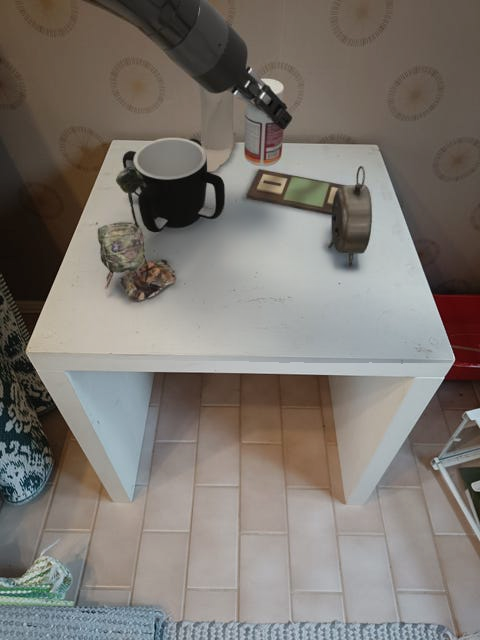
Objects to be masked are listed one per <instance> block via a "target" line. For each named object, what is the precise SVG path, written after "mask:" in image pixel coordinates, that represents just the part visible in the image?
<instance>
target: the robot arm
mask: <svg viewBox="0 0 480 640" xmlns="http://www.w3.org/2000/svg"><path fill="white" fill-rule="evenodd" d="M81 1H82V2H84V3H86V4H89V5H92V6H94V7H97V8H98V9H101V10H102V11H103V10H104V11H105V12H107V13H109V14H111V15H114V16H115V17H118V18H119V19H121V20H123V21H125V22H126V23H128V24H130V25H132V26H133V27H135V28H137V29H138V30H139V31H140V32H141V33H142V34H143V35H145V36H146V37H147V38H148V39H149V40H150V41H152V42H153V43H154V44H155V45H156V46H157V47H159V48H160V49H161V50H162V52H164V53H165V54H166V56H167V57H168V58H169V59H170V60H171V61H172V62H173V63H174V64H175V65H176V66H177V67H179V68H180V69H181V70H182V71H183V72H184V73H186V74H187V75H188V77H190V78H191V79H192V80H194V81H195V82H196V83H197V84H198V85H199V84H200V85H201V86H202V87H203V88H204V89H206V90H207V91H208V92H210V93H214V94H218V93H222V92H224V91H226V90H227V91H229V92H231V93H232V94H233V95H234V98H237V99H238V100H240V101H243V102H244V103H245V104H248V105H249V106H250V107H251V108H252V109H254V110H255V111H262V112H263V113H264V114H265V115H266V117H267V118H268V119H269V118H270V119H271V120H272V121H273V122H275V123H276V124H277V125H278V126H279V127H280V128H281V129H283V130H286V129H287V127H288V126H289V124H291V122H292V120H293V116H292V115H291V114H290V113H289V112H288V111H287V109H288V106H287V104H286V103H285V102H283V100H282V101H281V100H280V99H279V98H278V96H277V95H276V94H275V93H274V92H273V91H272V90H271V88H270V86H268V85H266V84H265V83H264V82H263V81H262V80H261V79H262V78H260V77H259V75H258V73H257V71H255V70H254V69H253V68H252V67H251V66H249V65H247V62H248V56H249V55H248V47H247V44H246V42H245V40H244V39H243V38H242V37H241V36H240V35H239V34H238V32H237V31H236V30H235V29H234V28H233V27H232V26H231V24H230V23H229V22H228V21H227V20H226V19H225V18H224V17H223V16H222V15H221V13H220V12H219V11H218V10H217V9H216V8H215V6H213V4H212V3H210V2H209V1H208V0H81ZM258 84H259V85H260V86H261V87H262V88H261V89H260V87H259V85H258ZM254 98H255V99H254ZM253 99H254V100H253ZM250 100H253V102H254V103H252V102H251V101H250Z"/></svg>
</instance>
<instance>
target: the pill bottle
mask: <svg viewBox="0 0 480 640" xmlns="http://www.w3.org/2000/svg"><path fill="white" fill-rule="evenodd" d="M260 79H261V80H262V81H263V82H264V83H265V84H266V85H268V86H270V88H271V90H272V91H273V92H274V93H275V94H276V95H277V96H278V98H279V99H280V100H281V101H282V102H283V101H284V92H285V91H284V89H285V88H284V85H283V83H282V82H281V81H278V80H277V79H274V78H260ZM258 85H259V84H258ZM259 87H260V89H261V88H262V87H261V86H260V85H259ZM254 99H255V98H254ZM254 99H253V100H254ZM253 100H250V101H251V102H252V103H254V102H253ZM284 130H285V129H284ZM284 130H283V129H281V128H280V127H279V126H278V125H277V124H276V123H275V122H273V121H272V120H271V119H270V118H269V119H268V118H267V117H266V115H265V114H264V113H263V112H262V111H255V110H254V109H252V108H251V107H250V106H249V105H248V104H247V103H245V108H244V143H243V145H244V146H243V147H244V149H243V150H244V151H243V152H244V154H243V155H244V158H245V160H246V161H247V162H248V163H250V164H252V165H254V166H258V167H269V166H273V165H275V164H277V163H278V162H279V161H280V160H281V158H282V154H283V153H282V152H283V143H284Z"/></svg>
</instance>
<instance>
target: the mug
mask: <svg viewBox="0 0 480 640" xmlns="http://www.w3.org/2000/svg"><path fill="white" fill-rule="evenodd" d="M122 165H123V169H125V168H126V167H127V166H129V165H130V166H132V167H133V168H134V169H136V171H138V172H139V173H140V174H141V176H142V177H143V182H144V183H145V184H146V185H147V186H146V187H144V186H143V185H140V186H139V187H138V189H137V190H136V191H135V192H134V193H133V194H134V195H136V196H137V197H138V199H137V203H138V209H139V213H140V214H139V215H140V217H141V221H142V224H143V226H144V227H145V229H146V230H147V231H148V232H150V233H153V234H158V233H161V232H162V231H163V230H164V229H165V228H169V229H181V228H186V227H189V226H191V225H194V224H195V223H196V222H198V220H199V219H200V218H203V219H207V220H215V219H217V218H219V217H220V216H221V214H222V213H223V211H224V209H225V205H226V204H225V203H226V188H225V182H224V180H223V178H222V177H221V176H220V175H218V174H215V173H212V172H207V156H206V152H205V151H204V149H203V148H202V145H201V140H199V139H197V138H190V139H187V138H182V137H164V138H158V139H154V140H152V141H150V142H147V143H146V144H143V145H142V146H141V147H139V149H138V150H137V151H135V150H127V152H125V153H124V154H123V156H122ZM208 184H209V185H212V186H213V189H214V198H215V199H214V201H215V202H214V203H215V204H214V209H213V208H209V207H206V206H205V202H206V196H207V195H206V194H207V185H208Z"/></svg>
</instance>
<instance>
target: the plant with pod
mask: <svg viewBox="0 0 480 640" xmlns="http://www.w3.org/2000/svg"><path fill="white" fill-rule="evenodd" d="M115 182H116V184H117V185H118V186H119V188H120V189H121V190H122V192H124V193H125V194H127V197H128V201H129V204H130V209H131V215H132V219H133V222H134V223H133V222H132V221H131V222H128V221H119V222H113V223H110V224H105V225H103V226H100V227H98V228H97V241H98V243H99V245H100V248H99V249H100V250H99V255H100V261H101V263H102V264H103V266H105V268H107V269H108V271H109V272H108V274H107V276H106V281H105V285H104V289H106V290H107V289H108V287H109V286H110V283H111V280H112V278H113V276H114V273H116V274H119V273H124V272H125V273H124V274H122V276H121V277H119V279H120V280H119V284H120V285H121V286H122V287H123V289H124V292H125V294H126V295H127V296H128V299H130V300H132V301H133V302H137V301H138V302H141V301H143V300H146V299H148V298H151V297H154V296H156V295H157V294H158V293H159V292H160V291H161V290H162V289H166V288H167V285H170V284H175V283H176V280H177V279H176V278H177V277H176V275H175V274H174V273H175V271H176V270H173V269H171V266H170V264H168V260H167V259H162V258H161V259H159V260H156V261H154V262H153V261H147V258H146V253H145V252H146V250H145V235H144V233H143V229H142V228H141V226H140V225H139V224H138V220H137V215H136V212H135V207H134V200H133V195H132V194H135V193H134V192H135V191H136V190H137V189H138V187H139V186H140V185H143V186H144V187H146V186H147V185H146V184H145V183H144V182H143V177H142V176H141V174H140V173H139V172H138V171H136V169H134V168H133V167H132V166H130V165H129V166H127V167H126V168H125V169H124V168H123V169H122V170H121V171H119V172H118V174H117V176H116V179H115ZM98 224H99V222H95V224H94V225H95V226H96V225H97V226H98Z"/></svg>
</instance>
